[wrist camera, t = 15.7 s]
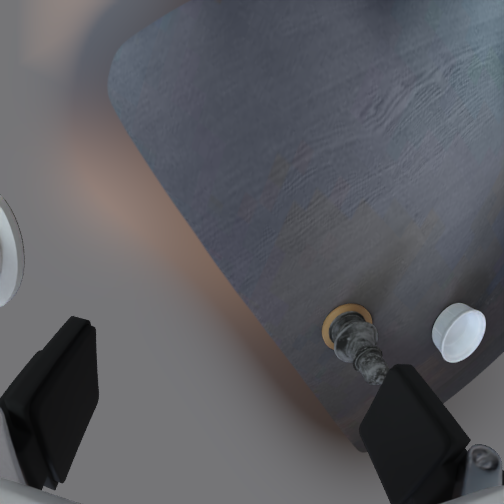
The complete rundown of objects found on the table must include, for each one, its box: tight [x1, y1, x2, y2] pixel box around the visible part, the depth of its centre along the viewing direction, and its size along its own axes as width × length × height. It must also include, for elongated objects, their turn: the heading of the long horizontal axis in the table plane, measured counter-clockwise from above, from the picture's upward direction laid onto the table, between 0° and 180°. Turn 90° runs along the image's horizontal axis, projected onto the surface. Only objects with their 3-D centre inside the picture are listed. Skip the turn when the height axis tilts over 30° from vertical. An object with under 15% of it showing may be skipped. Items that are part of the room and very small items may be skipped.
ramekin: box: [432, 303, 486, 363], centre depth 41 cm, size 9×9×4 cm
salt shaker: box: [328, 311, 389, 385], centre depth 35 cm, size 6×6×12 cm
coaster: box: [322, 303, 372, 350], centre depth 41 cm, size 7×7×1 cm
